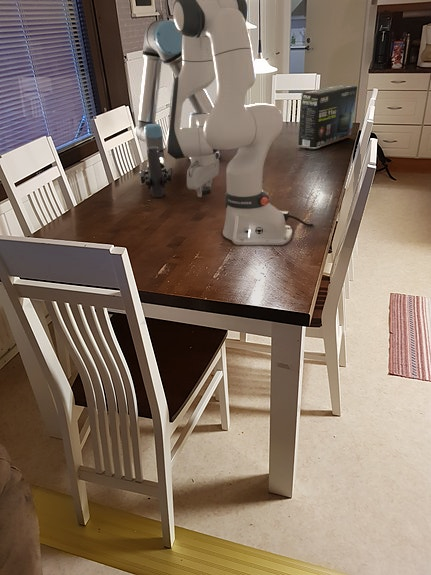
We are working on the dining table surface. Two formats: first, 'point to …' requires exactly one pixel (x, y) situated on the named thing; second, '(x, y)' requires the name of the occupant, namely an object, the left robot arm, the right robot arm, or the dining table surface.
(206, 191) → the lid
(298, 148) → the dining table surface
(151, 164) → the dark grey cylinder
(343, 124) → the router box
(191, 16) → the right robot arm
